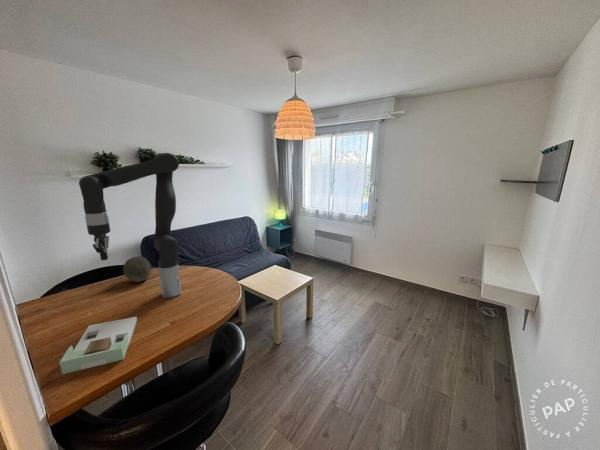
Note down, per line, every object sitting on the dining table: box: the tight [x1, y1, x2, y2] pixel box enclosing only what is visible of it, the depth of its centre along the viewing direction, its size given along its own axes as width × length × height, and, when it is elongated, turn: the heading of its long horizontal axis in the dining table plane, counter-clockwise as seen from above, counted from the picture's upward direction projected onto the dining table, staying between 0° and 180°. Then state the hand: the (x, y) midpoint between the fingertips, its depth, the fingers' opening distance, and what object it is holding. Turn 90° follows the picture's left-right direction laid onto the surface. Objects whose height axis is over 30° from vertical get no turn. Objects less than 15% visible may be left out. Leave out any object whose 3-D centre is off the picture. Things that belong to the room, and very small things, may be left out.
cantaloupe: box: [122, 255, 152, 283], centre depth 140 cm, size 14×14×15 cm
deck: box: [59, 316, 138, 375], centre depth 92 cm, size 17×24×5 cm
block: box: [84, 337, 112, 355], centre depth 86 cm, size 6×6×3 cm
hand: (104, 259), depth 106 cm, fingers closed
